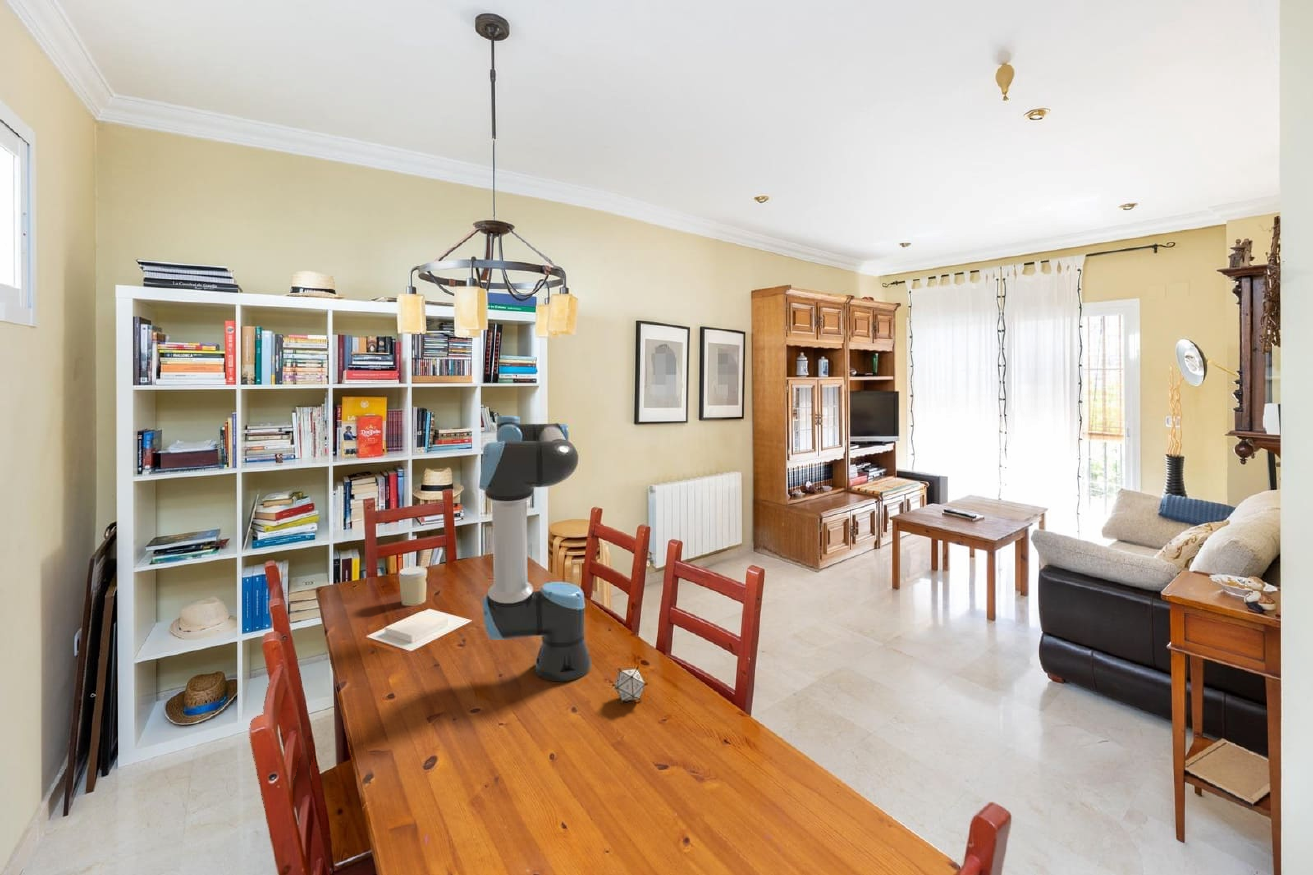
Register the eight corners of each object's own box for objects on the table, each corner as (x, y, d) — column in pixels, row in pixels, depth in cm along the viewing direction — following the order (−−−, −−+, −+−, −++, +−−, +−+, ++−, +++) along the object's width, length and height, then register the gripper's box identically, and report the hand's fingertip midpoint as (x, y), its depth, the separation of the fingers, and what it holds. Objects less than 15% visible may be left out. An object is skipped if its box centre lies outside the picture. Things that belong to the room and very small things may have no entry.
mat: (472, 622, 187) (472, 620, 187) (411, 653, 165) (411, 651, 165) (429, 610, 196) (429, 608, 196) (365, 638, 174) (365, 636, 174)
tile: (448, 618, 182) (411, 635, 170) (448, 625, 183) (412, 642, 170) (422, 611, 188) (384, 627, 176) (422, 617, 188) (385, 634, 176)
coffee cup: (433, 601, 203) (432, 569, 202) (410, 610, 196) (409, 576, 194) (417, 596, 208) (416, 564, 207) (393, 604, 201) (392, 571, 199)
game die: (621, 714, 143) (598, 680, 143) (644, 690, 148) (622, 658, 149) (637, 713, 135) (613, 677, 136) (661, 688, 141) (637, 654, 142)
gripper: (532, 462, 190) (532, 531, 192) (502, 459, 195) (503, 526, 198) (516, 465, 183) (517, 536, 185) (486, 462, 189) (487, 531, 191)
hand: (510, 531), depth 192 cm, fingers closed
